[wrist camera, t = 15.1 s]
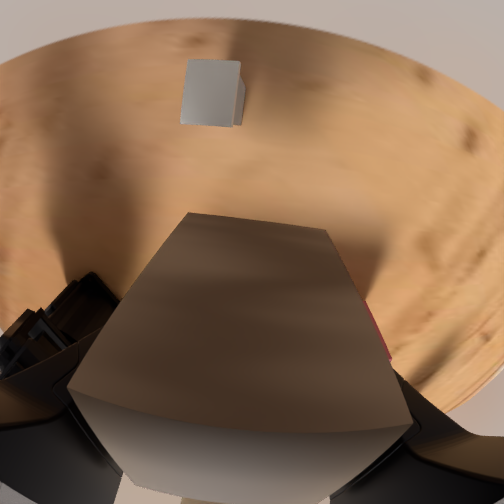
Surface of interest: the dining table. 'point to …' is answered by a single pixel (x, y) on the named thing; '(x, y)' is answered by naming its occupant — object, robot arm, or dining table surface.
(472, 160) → the dining table surface
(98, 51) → the dining table surface
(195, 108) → the pair of grey plates
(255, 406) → the block
